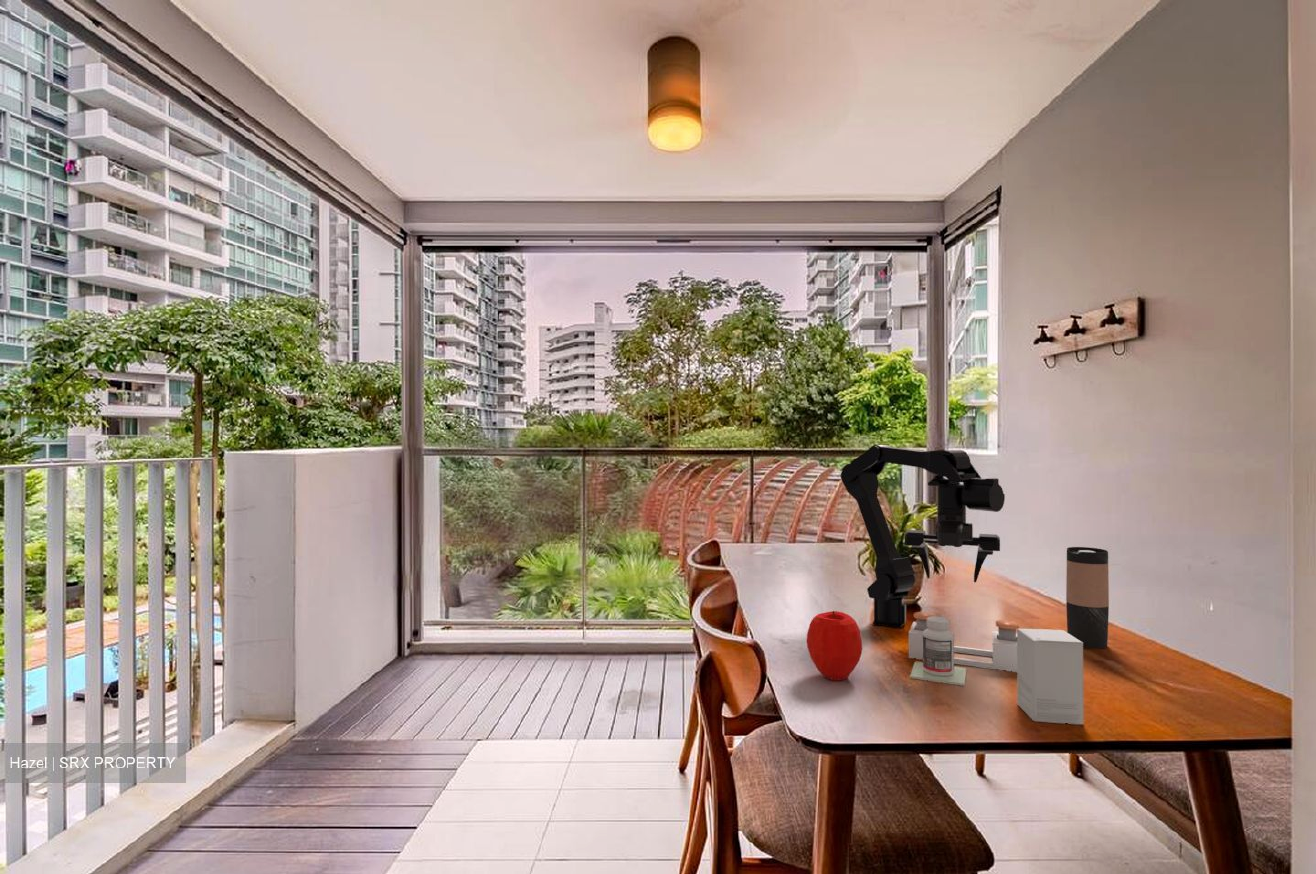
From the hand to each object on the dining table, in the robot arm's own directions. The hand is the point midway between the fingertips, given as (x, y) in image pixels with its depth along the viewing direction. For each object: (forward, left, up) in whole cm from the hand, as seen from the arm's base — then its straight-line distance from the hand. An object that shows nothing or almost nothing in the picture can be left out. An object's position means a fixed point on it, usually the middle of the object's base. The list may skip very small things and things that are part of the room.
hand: (951, 580), depth 147 cm
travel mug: (+26, +10, -13) cm, 31 cm away
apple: (-18, -34, -13) cm, 41 cm away
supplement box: (+16, -36, -13) cm, 42 cm away
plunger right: (+10, -12, -10) cm, 19 cm away
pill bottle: (-1, -24, -13) cm, 27 cm away
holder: (+3, -12, -13) cm, 18 cm away
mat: (-1, -24, -13) cm, 27 cm away
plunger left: (-4, -12, -10) cm, 16 cm away
